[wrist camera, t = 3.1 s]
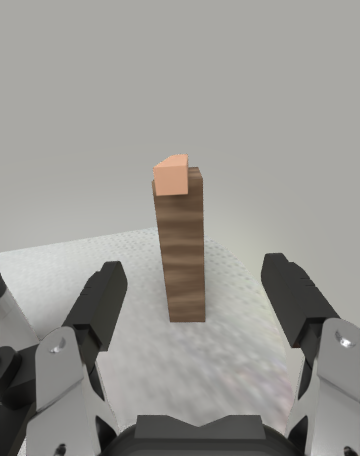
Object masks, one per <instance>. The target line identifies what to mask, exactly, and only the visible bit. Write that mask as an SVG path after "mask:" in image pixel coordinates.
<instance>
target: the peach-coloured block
mask: <svg viewBox="0 0 360 456" xmlns="http://www.w3.org/2000/svg"><path fill="white" fill-rule="evenodd" d="M153 172H154V180H155V188H156V196H160V195H177V194H188V154H182V155H172V156H170V157H169V158H167V159H166V160H164V161H162V162H161V163H159V164H158V165H156V166H155V167H153Z"/></svg>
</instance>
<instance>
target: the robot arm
mask: <svg viewBox="0 0 360 456" xmlns="http://www.w3.org/2000/svg"><path fill="white" fill-rule="evenodd" d="M261 281H262V284H263V287H264V289H265V291H266V293H267V296H268V298H269V300H270V302H271V304H272V306H273V309H274V311H275V313H276V315H277V318H278V320H279V322H280V324H281V326H282V328H283V331H284V333H285V335H286V337H287V339H288V342H289V344H290V346H291V348H301V349H302V351H303V353H304V357H303V360H302V365H301V371H300V375H299V380H298V386H297V390H296V395H295V399H294V403H293V406H292V409H291V411H290V414H289V418H288V421H287V426H286V430H285V435H284V436H283V435H282V434H281V433H279V432H278V431H276V430H275V429H273V428H271V427H269V426H267V425H264V424H262V420H261V416H260V415H229V416H226V417H224V418H221V419H219V420H216V421H213V422H211V423H208V424H206V425H203V426H200V427H196V426H193V425H191V424H188V423H185V422H183V421H180V420H178V419H175V418H173V417H170V416H167V415H138V417H137V423H136V424H134V425H132V426H131V427H129V428H127V429H125V430H124V431H123V432H122V433H120V430H119V427H118V423H117V420H116V418H115V415H114V413H113V411H112V409H111V407H110V404H109V402H108V399H107V395H106V392H105V388H104V385H103V381H102V378H101V374H100V371H99V368H98V364H97V361H96V358H97V355H98V353H99V352H101V351H108V348H109V344H110V341H111V338H112V335H113V332H114V329H115V326H116V323H117V319H118V316H119V313H120V310H121V307H122V304H123V301H124V297H125V294H126V291H127V285H128V284H127V278H126V275H125V272H124V270H123V267H122V264H121V262H120V261H111V262H105V263H104V265H103V267H102V269H101V270H100V271H99V272H95V273H94V274H93V275H92V276H91V277H90V278H89V279H88V281H87V283H86V284H85V286H84V289H83V290H82V292H81V293H80V296H79V297H78V299H77V300H76V302H75V304H74V306H73V307H72V309H71V311H70V313H69V314H68V316H67V318H66V320H65V321H64V323H63V325H62V326H61V327H60V328H57V329H55V330H54V331H52V332H51V333H49V334H48V335H47V336H46V337H45V338H44V339H43V340H42V341H41V342H40V340H39V339H38V337H37V335H36V334H35V332H34V330H33V329H32V327H31V325H30V324H29V322H28V320H27V319H26V317H25V315H24V314H23V312H22V310H21V309H20V307H19V305H18V304H17V302H16V300H15V299H14V297H13V296H12V294H11V292H10V291H9V289H8V287H7V286H6V284H5V282H4V281H3V279H2V276H1V273H0V456H17V454H18V452H19V450H20V448H21V445H22V443H23V441H24V439H25V437H26V456H360V328H358V327H357V326H355V325H354V324H352V323H350V322H348V321H346V320H343V319H341V318H340V317H339V316H338V314H337V313H336V312H335V311H334V309H333V308H332V306H331V305H330V304H329V303H328V301H327V300H326V299H325V297H324V296H323V295H322V293H321V292H320V291H319V289H318V288H317V287H315V284H314V283H313V281H312V280H310V278H309V276H308V275H307V274H306V272H305V271H304V270H303V269H302V268H301V267H299V266H298V265H297V264H295V263H294V262H288V260H287V259H286V257H285V256H284V255H283V254H282V253H269V254H265V257H264V262H263V266H262V271H261Z"/></svg>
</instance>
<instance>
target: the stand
mask: <svg viewBox="0 0 360 456" xmlns="http://www.w3.org/2000/svg"><path fill="white" fill-rule="evenodd" d="M152 188H153V196H154V204H155V210H156V218H157V225H158V234H159V241H160V249H161V256H162V264H163V271H164V279H165V286H166V294H167V301H168V309H169V316H170V322H205V284H204V229H203V178H202V176H201V173H200V171H199V168H198V167H190V168H188V194H177V195H160V196H156V188H155V180H153V181H152Z"/></svg>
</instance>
